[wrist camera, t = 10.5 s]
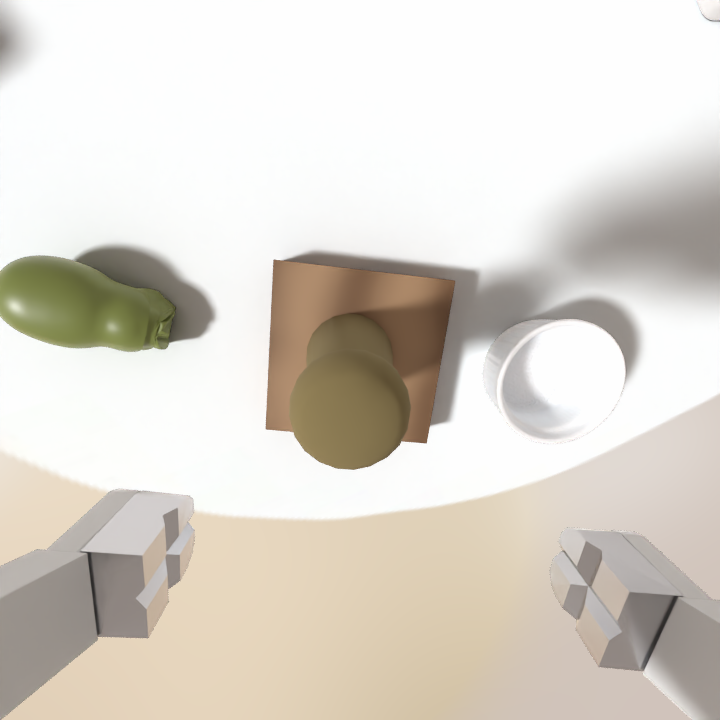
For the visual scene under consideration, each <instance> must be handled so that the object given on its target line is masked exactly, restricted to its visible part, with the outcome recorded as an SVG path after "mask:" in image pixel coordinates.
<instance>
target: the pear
mask: <svg viewBox="0 0 720 720" xmlns="http://www.w3.org/2000/svg"><path fill="white" fill-rule="evenodd" d="M175 308H176V307H175V306H174V305H173V304H172V303H171V302H170V301H169V300H167V299H166V298H164V296H163V295H162V294H161V293H160V292H158V291H156V290H154V289H149V288H135V287H131V286H128V285H125V284H121V283H119V282H116V281H114V280H112V279H110V278H109V277H107V276H106V275H105V274H103V273H102V272H100V271H98V270H96V269H94V268H92V267H90V266H87V265H85V264H82V263H79V262H76V261H73V260H69V259H65V258H60V257H54V256H28V257H24V258H20V259H17V260H15V261H13V262H11V263H9V264H8V265H6V266H5V267H4V268H3V269H2V270H1V271H0V316H1V318H2V319H3V320H4V321H5V322H6V323H7V324H9V325H10V326H11V327H13V328H14V329H16V330H17V331H19V332H21V333H23V334H25V335H27V336H30V337H32V338H35V339H37V340H40V341H43V342H46V343H49V344H53V345H57V346H62V347H68V348H91V347H109V348H113V349H117V350H121V351H127V352H135V351H140V350H148V349H151V348H153V347H154V348H157V349H166V348H167V347H168V345H169V335H170V330H171V325H172V320H173V316H174V315H175Z"/></svg>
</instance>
